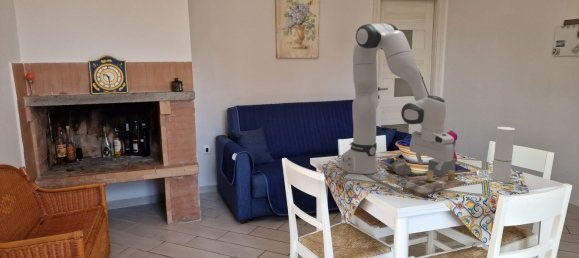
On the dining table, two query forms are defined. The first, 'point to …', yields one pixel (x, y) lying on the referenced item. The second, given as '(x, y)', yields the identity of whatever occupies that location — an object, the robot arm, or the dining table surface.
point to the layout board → (449, 185)
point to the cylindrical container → (503, 154)
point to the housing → (444, 167)
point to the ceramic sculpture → (400, 167)
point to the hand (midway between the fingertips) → (428, 166)
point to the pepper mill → (454, 140)
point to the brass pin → (429, 176)
